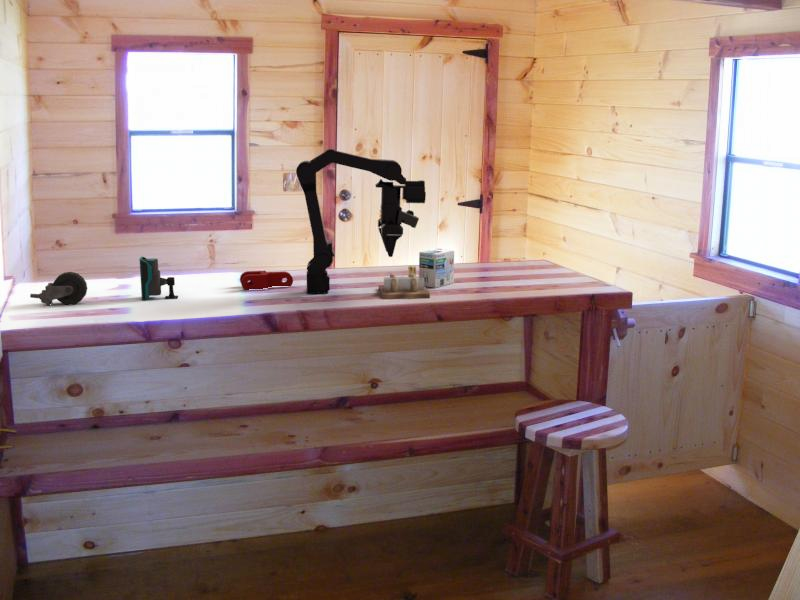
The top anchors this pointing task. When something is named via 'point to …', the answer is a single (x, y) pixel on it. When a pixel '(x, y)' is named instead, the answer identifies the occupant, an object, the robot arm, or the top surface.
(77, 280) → the caster wheel
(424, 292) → the peg board
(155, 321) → the top surface
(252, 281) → the mechanical linkage
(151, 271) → the surveillance camera
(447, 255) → the light bulb box
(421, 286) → the grey rectangular block
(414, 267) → the brass pin
